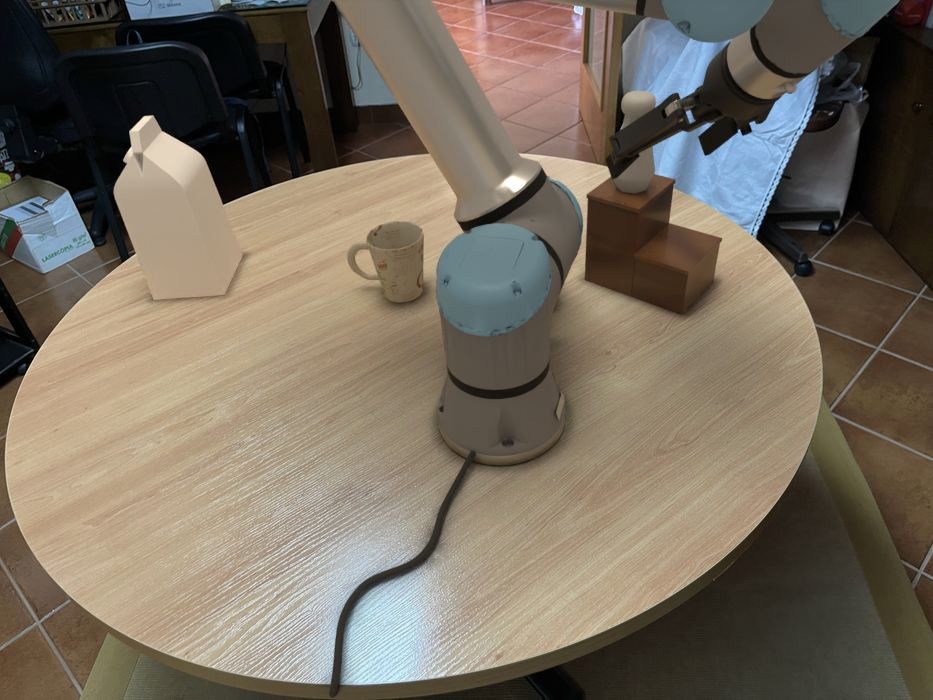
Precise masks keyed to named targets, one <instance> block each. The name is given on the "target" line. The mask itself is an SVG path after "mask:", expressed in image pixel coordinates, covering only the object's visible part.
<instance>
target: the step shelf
mask: <svg viewBox="0 0 933 700" xmlns="http://www.w3.org/2000/svg"><path fill="white" fill-rule="evenodd" d="M675 184H676V178H673V177H667V176H664V175H660V174H656V173H654V176H653V178H652V180H651V182H650V183H649V185H648V187H647V189H646V190H645V191H642V192H639V193H636V194H634V193H626V192H622V191H621V190H620V189H619V188H618V187H617V186H616V183H615V181H614V179H612V178H611V176H610V177H608V178H607V179H606V180H604V181H603V182H602V183H600V184H599V185H597V186H596V187H595V188H593V189H592V190H591V191H588V193H586V195H585V196H586V199H587V208H586V209H587V210H586V213H587V214H586V231H585V232H586V236H585V261H584V262H585V263H584V280H585V281H587V282H591V283H593V284H596V285H599V286H601V287H605V288H606V289H610V290H613V291H615V292H618V293H621V294H623V295H625V296H626V295H627V296H630V297H632V298H635V299H638V300H641V301H644V302H647V303H648V304H652V305H655V306H658V307H661V308H663V309H665V310H669V311H672V312H674V313H678V314H681V315H683V314H684V313H685V312H686V311H687V310H688V309H689V308H690V306H691V305H693V303H694V302H695V301H696V300H697V299H698V298H699V297H700V296H701V295H702V294H703V293H704V292H705V291H706V290H707V289H708V287H710V285H712V283H714V280H715V274H716V267H717V263H718V257H719V251H720V245H721V243H722V242H723V238H722V237H720V236H716V235H714V234H713V235H712V234H709V233H705V232H702V231H700V230H699V231H698V230H695V229H692V228H689V227H685V226H681V225H678V224H674V223H671V222H670V221H671V219H670V218H671V211H672V201H673V194H674V185H675Z"/></svg>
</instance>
